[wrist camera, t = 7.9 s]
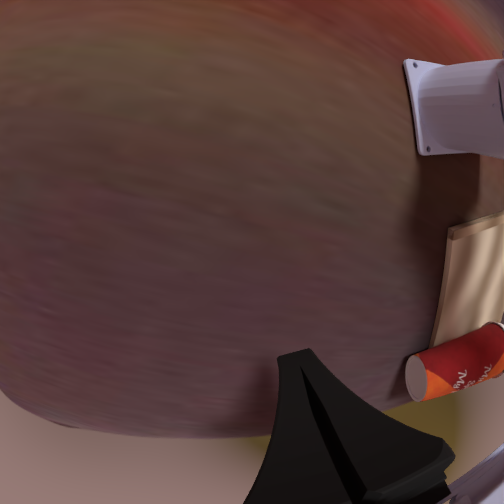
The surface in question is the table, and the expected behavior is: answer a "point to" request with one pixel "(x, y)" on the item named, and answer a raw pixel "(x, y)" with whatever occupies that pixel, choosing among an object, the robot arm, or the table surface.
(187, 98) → the table surface
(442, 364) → the paper cup
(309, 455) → the robot arm
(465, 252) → the birch board
